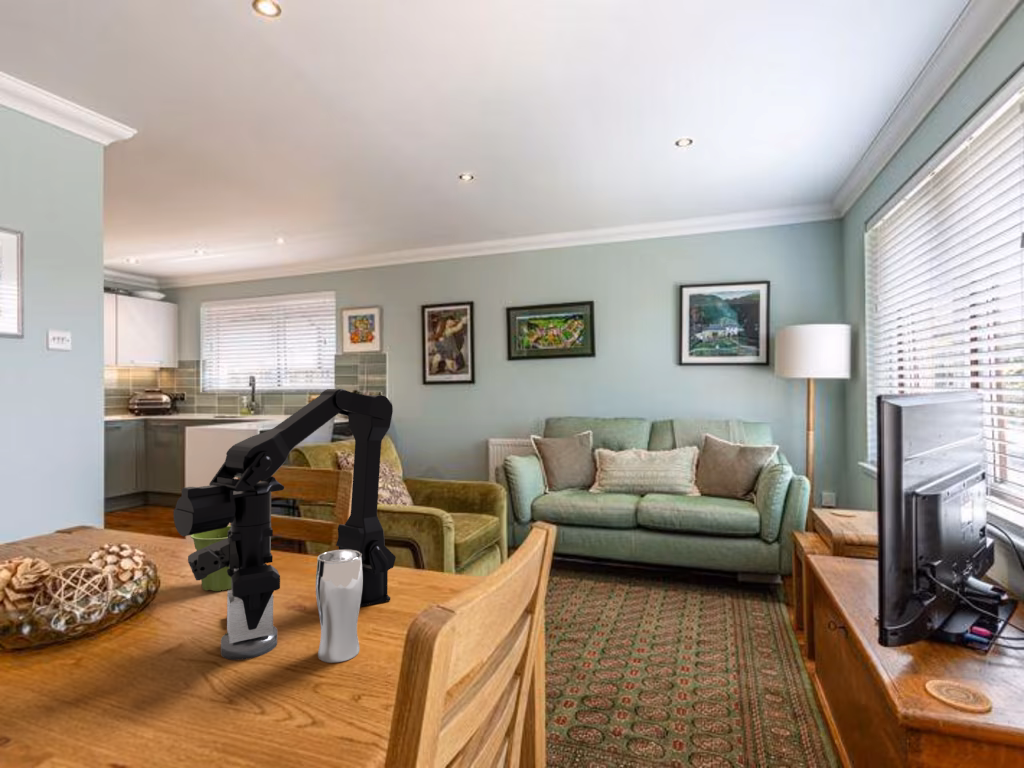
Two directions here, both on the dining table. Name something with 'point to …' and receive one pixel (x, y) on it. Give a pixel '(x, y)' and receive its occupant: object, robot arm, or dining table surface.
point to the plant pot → (218, 578)
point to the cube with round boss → (239, 623)
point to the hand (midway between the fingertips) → (250, 621)
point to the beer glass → (339, 603)
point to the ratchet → (248, 646)
